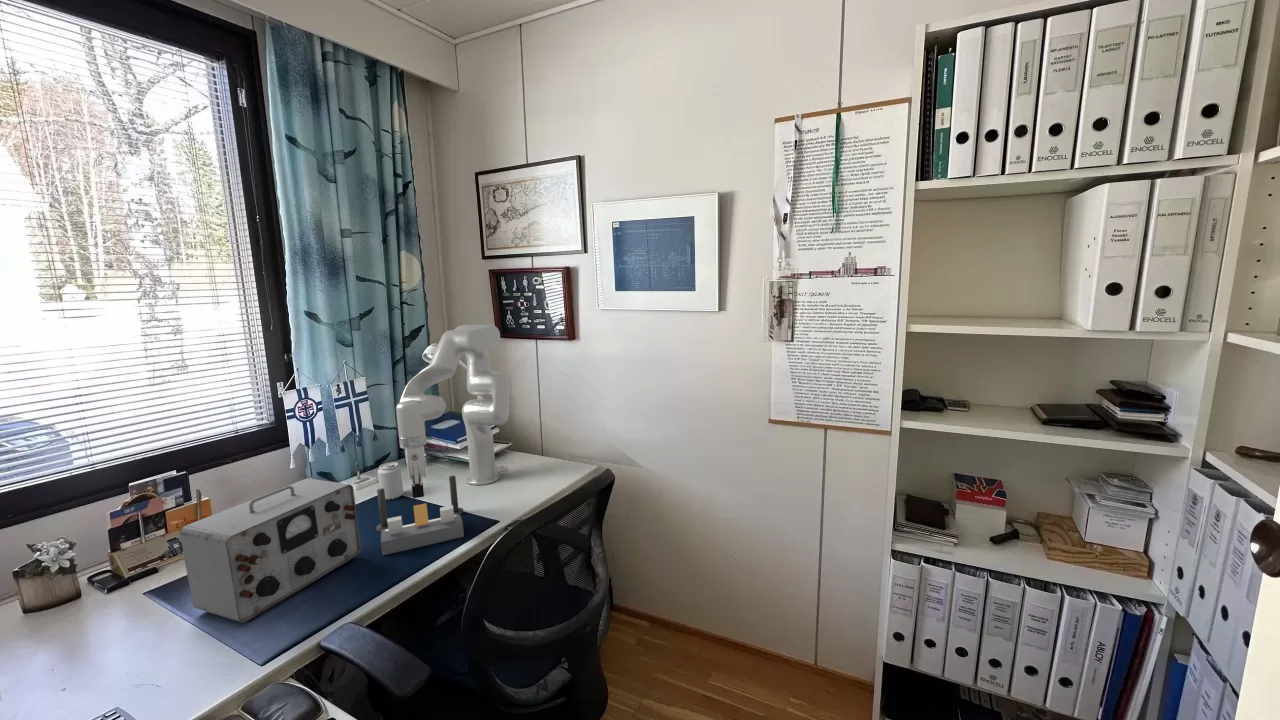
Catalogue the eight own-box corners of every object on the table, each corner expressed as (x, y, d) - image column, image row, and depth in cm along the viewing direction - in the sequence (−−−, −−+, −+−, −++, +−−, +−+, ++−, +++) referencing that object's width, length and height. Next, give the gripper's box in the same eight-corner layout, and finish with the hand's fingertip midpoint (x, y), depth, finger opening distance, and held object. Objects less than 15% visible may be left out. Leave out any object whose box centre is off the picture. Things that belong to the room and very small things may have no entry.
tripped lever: (428, 523, 152) (426, 503, 154) (428, 523, 151) (426, 503, 153) (415, 526, 151) (413, 506, 153) (415, 526, 150) (413, 505, 152)
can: (397, 500, 180) (393, 468, 178) (376, 501, 180) (372, 468, 178) (407, 491, 187) (404, 460, 185) (387, 492, 187) (383, 461, 185)
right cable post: (462, 508, 172) (459, 472, 170) (464, 514, 167) (461, 477, 165) (446, 511, 170) (443, 475, 168) (448, 518, 165) (444, 480, 163)
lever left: (402, 528, 149) (401, 515, 145) (403, 531, 148) (401, 519, 144) (389, 531, 147) (387, 518, 144) (389, 534, 146) (387, 522, 143)
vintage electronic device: (246, 632, 113) (229, 527, 109) (194, 616, 119) (176, 516, 115) (367, 558, 142) (356, 473, 138) (320, 548, 148) (309, 466, 144)
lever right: (453, 517, 155) (452, 505, 151) (453, 520, 154) (453, 508, 150) (440, 520, 153) (439, 507, 150) (441, 523, 152) (440, 511, 149)
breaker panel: (460, 525, 160) (459, 513, 159) (463, 536, 153) (462, 523, 152) (382, 542, 150) (381, 529, 150) (382, 555, 143) (380, 541, 143)
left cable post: (393, 523, 163) (389, 485, 161) (393, 529, 158) (389, 490, 156) (376, 526, 161) (371, 488, 159) (375, 533, 156) (371, 494, 154)
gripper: (427, 445, 152) (432, 503, 155) (424, 432, 165) (429, 486, 168) (399, 449, 149) (405, 508, 152) (399, 436, 162) (405, 490, 165)
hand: (418, 496), depth 160 cm, fingers closed
